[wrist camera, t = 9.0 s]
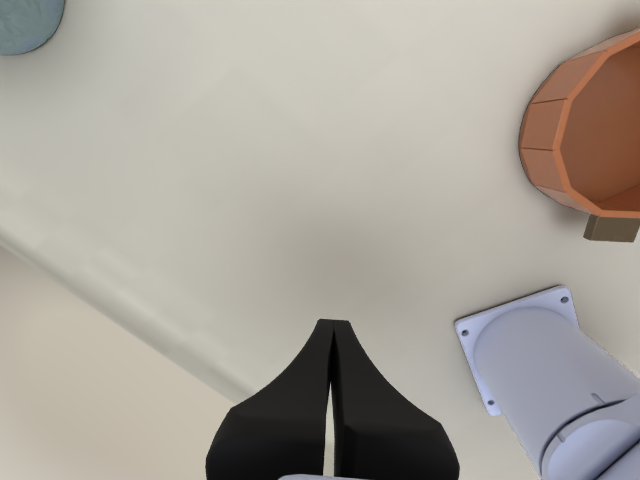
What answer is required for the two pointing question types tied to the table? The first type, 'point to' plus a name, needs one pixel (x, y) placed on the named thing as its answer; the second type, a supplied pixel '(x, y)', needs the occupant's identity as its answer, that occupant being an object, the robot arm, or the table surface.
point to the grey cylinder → (27, 24)
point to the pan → (590, 137)
